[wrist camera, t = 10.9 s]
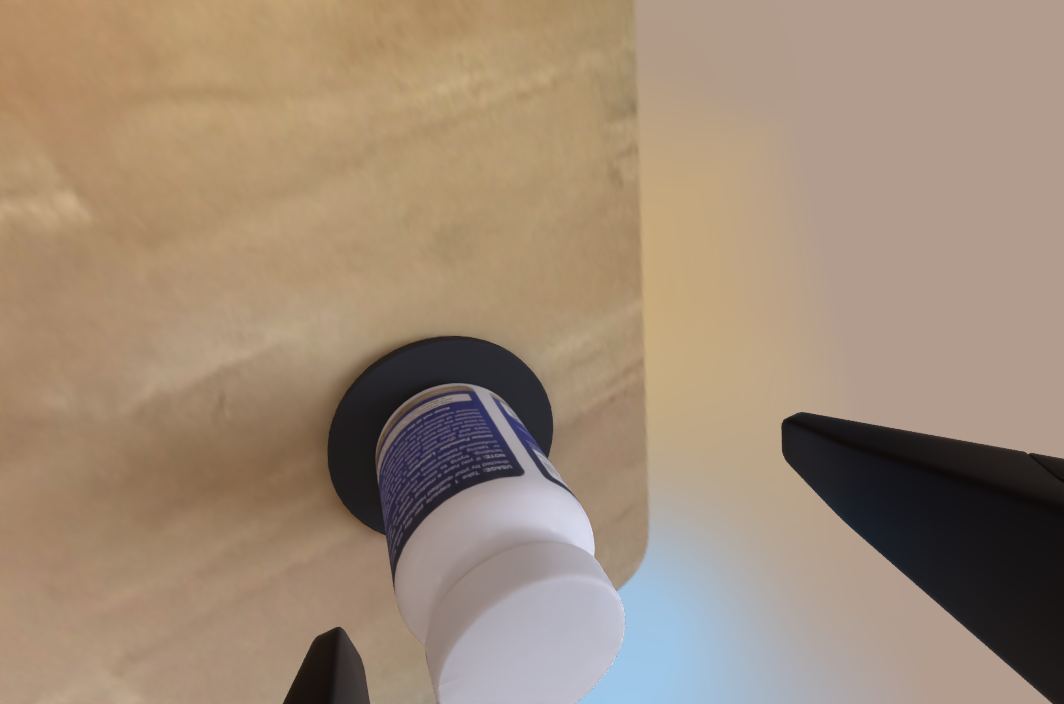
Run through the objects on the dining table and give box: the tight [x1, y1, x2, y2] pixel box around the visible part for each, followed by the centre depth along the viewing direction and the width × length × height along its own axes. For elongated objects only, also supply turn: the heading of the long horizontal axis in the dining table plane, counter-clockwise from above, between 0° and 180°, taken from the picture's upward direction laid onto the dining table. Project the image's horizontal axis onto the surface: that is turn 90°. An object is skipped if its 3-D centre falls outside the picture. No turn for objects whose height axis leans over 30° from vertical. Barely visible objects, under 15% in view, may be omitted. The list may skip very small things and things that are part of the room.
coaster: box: [328, 336, 553, 535], centre depth 20 cm, size 9×9×1 cm
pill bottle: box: [376, 383, 625, 704], centre depth 16 cm, size 6×6×10 cm
